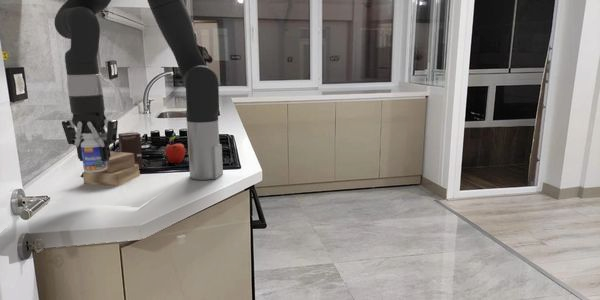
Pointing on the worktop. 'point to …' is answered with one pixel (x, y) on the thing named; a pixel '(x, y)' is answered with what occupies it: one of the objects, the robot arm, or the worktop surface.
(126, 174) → the oak slab
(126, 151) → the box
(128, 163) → the walnut slab
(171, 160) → the apple
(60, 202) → the worktop surface
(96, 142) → the pill bottle
